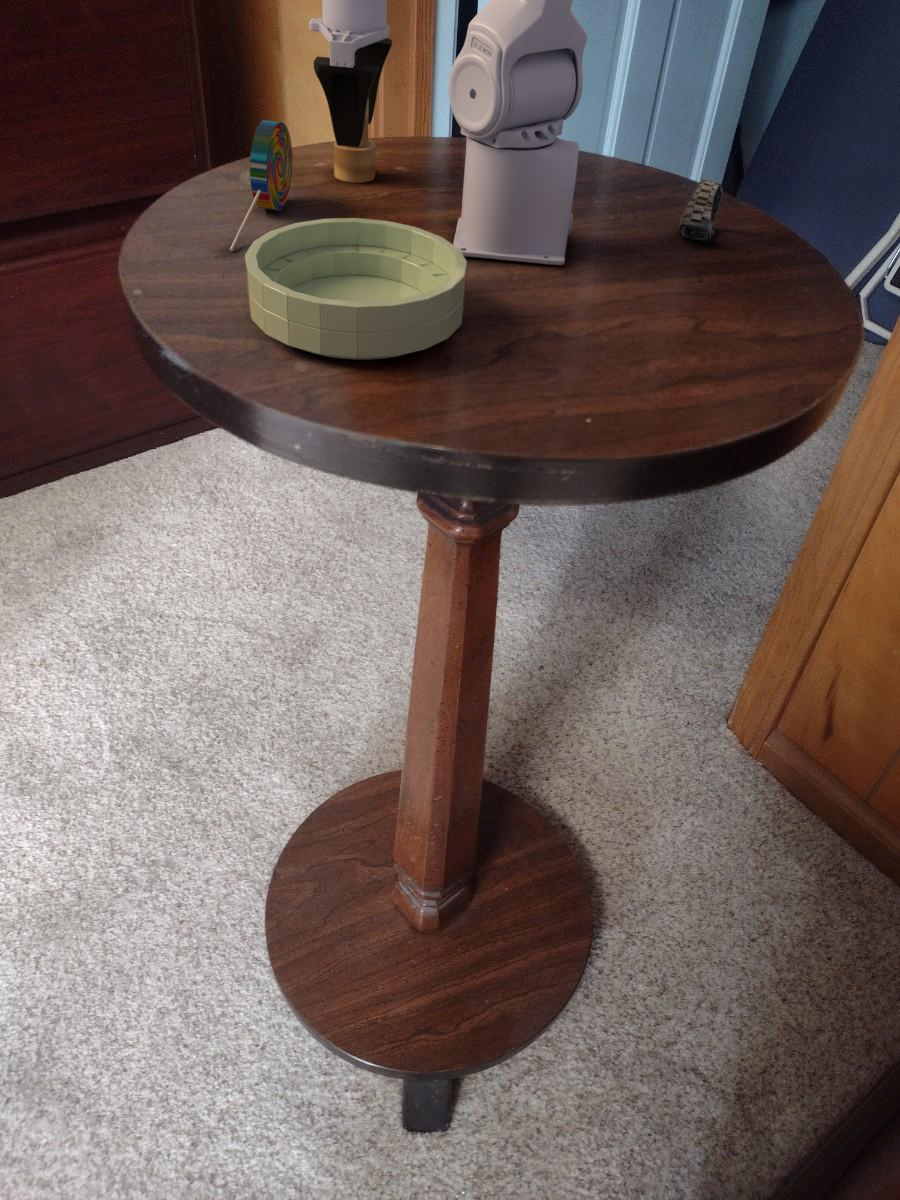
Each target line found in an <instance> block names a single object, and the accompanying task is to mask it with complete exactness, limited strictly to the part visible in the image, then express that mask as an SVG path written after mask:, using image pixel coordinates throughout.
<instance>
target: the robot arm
mask: <svg viewBox="0 0 900 1200" xmlns="http://www.w3.org/2000/svg"><path fill="white" fill-rule="evenodd" d="M573 1H574V0H489V1H488V2H487V3H485V5H484V6H483V7H482V8H481V9H480V10H479V11H478V13H477V14H475V16H473V18H472V20H470V22H469V23H468V26H467V31H466V36H465V40H464V43H463V46H462V48H461V50H460V52H459V54H458V55H457V57H456V58H455V59H454V61H453V64H452V66H451V70H450V74H449V77H448V98H449V104H450V109H451V111H452V115H453V117H454V118H455V121H456V122H457V124H458V126H459V127H460V134H461V135H463V136H465V137H466V144H465V145H466V146H465V159H464V173H463V187H462V200H461V212H460V213H461V216H460V217H458V219H457V224H456V230H455V233H454V238H453V243H452V244H453V245H454V246H456V247H457V248H458V249H460V251H461V253H462V254H463V256H464V257H466V258H467V257H469V258H478V259H487V260H488V259H489V260H497V261H499V260H500V261H510V262H519V263H521V262H522V263H531V264H539V265H540V264H542V265H551V266H563V265H565V261H566V257H565V256H566V250H567V243H568V238H569V237H568V236H570V235H571V233H572V226H573V218H574V214H573V213H574V212H572V211H573V209H572V208H573V203H574V195H575V189H576V179H577V171H578V161H579V152H580V151H579V150H580V149H579V148H580V147H579V146H580V145H579V142H578V141H574V140H568V139H564V138H563V139H562V138H560V137H558V136H561V135H562V134H563V127H564V121H566V120H567V119H568V118H570V117H571V116H572V115H573V114H574V113H575V111H576V109H577V108H578V106H579V103H580V100H581V98H582V94H583V89H584V88H583V86H584V74H583V58H584V52H585V48H586V45H587V42H588V41H587V40H588V34H587V33H586V30H585V29H584V27H583V26H582V24H581V23H580V21H579V20H578V19H577V17H576V16H575V14H574V13H573V10H572V9H571V8H572V5H573ZM387 9H388V0H321V12H322V13H321V14H322V15H321V16H322V17H313V18H312V17H311V19H310V20H309V22H308V29H309V30H310V31H312V32H318V33H320V34H321V35H322V36H323V38H324V40H326V42H327V43H328V45H329V57H327V56H316V57H315V59H314V60H313V70H314V73H315V76H316V77H317V79H318V81H319V83H320V86H321V87H322V90H323V93H324V96H325V100H326V102H327V106H328V110H329V116H330V120H331V126H332V130H333V131H332V132H333V135H334V139H335V141H336V143H337V145H339V146H349V147H359V145H360V142H361V139H362V134H363V128H364V121H365V113H366V107H367V102H368V97H369V106H368V125H371V123H372V120H373V116H374V113H375V107H376V102H377V96H378V89H379V85H380V80H381V75H382V73H383V68H384V66H385V63H386V60H387V57H388V55H389V53H390V51H391V49H392V46H393V40H392V39H391V38H388V37H389V34H390V33H389V31H390V30H389V29H390V26H389V24H388V23H387V18H388V17H387V14H388V10H387Z"/></svg>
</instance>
